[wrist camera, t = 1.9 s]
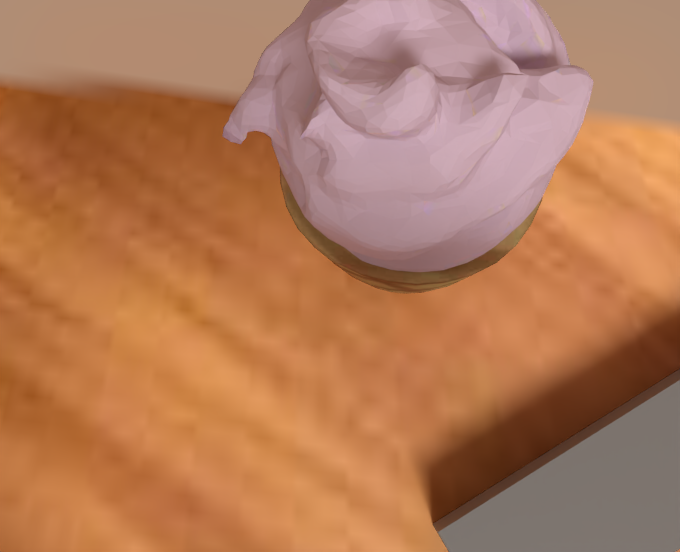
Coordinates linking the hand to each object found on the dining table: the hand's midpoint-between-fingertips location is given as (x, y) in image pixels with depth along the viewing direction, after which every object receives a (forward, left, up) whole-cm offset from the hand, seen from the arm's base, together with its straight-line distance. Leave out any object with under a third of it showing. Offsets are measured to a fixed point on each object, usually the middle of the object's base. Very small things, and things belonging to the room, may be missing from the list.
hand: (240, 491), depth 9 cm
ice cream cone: (+6, +5, -14) cm, 16 cm away
